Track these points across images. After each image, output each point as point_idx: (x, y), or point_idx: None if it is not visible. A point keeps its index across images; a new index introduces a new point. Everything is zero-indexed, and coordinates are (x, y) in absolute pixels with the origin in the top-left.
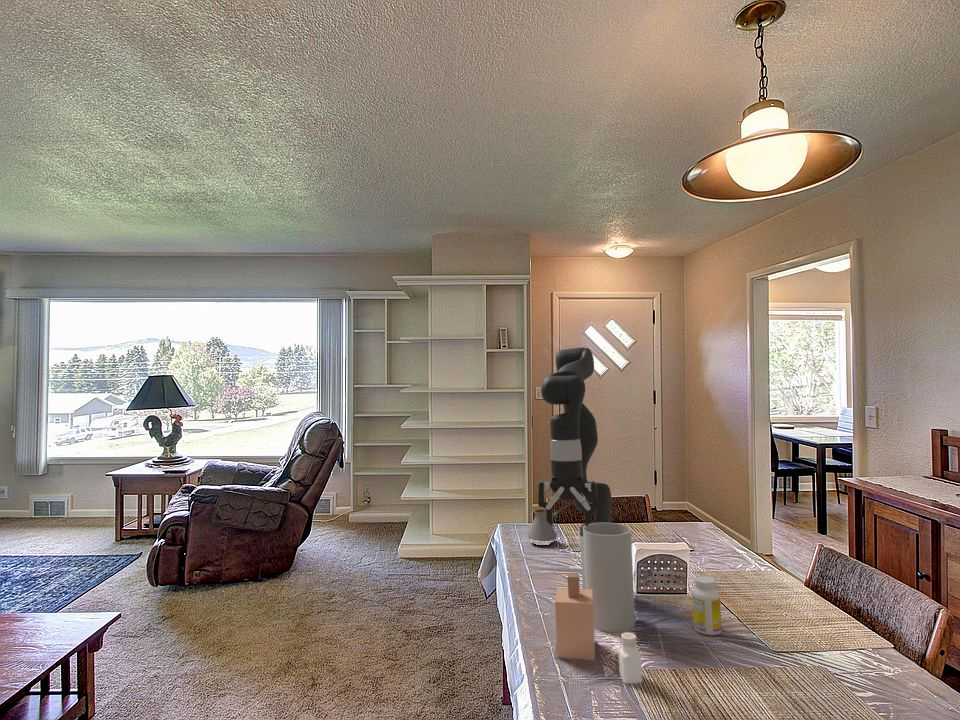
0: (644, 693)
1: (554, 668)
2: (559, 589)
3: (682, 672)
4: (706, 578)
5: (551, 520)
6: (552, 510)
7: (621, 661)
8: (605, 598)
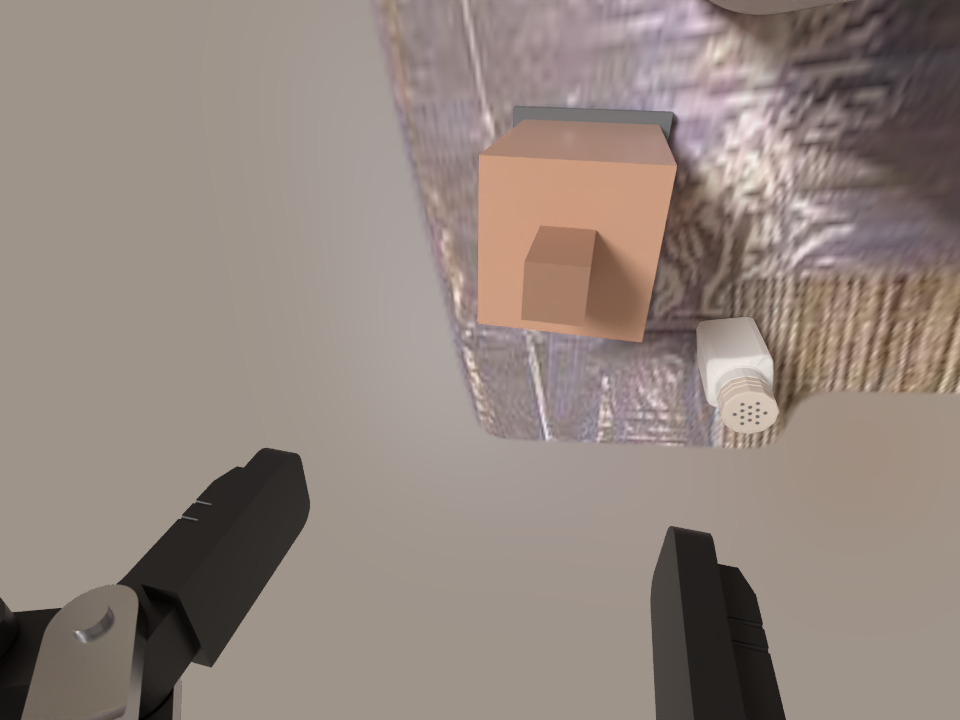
0: None
1: None
2: (491, 179)
3: (923, 294)
4: None
5: (276, 556)
6: (205, 599)
7: (703, 380)
8: (773, 3)
